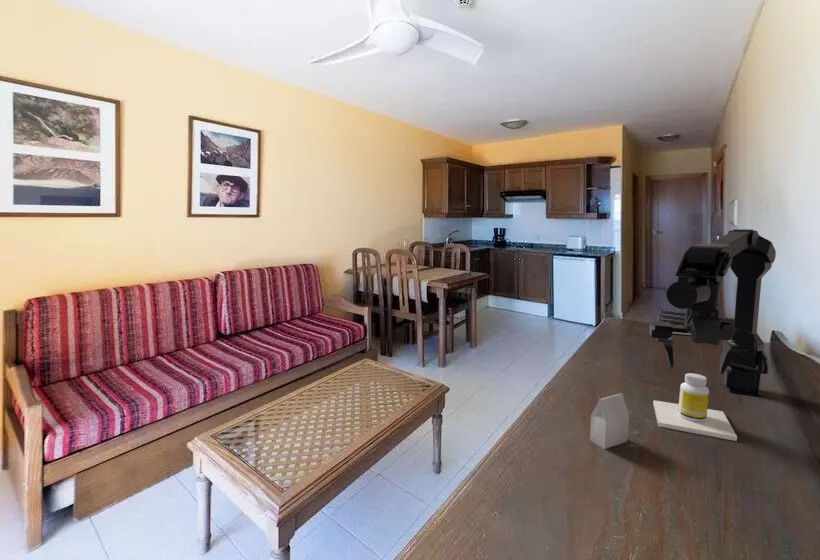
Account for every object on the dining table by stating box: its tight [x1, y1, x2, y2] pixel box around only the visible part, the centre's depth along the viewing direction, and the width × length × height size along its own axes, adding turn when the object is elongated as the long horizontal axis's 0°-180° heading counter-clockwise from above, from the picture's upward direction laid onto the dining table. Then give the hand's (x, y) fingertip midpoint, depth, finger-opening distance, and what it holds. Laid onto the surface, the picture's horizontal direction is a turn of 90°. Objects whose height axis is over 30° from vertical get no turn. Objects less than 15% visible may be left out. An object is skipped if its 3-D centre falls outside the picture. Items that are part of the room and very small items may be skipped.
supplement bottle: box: [678, 372, 710, 422], centre depth 90 cm, size 5×5×10 cm
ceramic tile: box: [652, 400, 738, 442], centre depth 90 cm, size 14×12×1 cm
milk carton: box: [589, 392, 630, 450], centre depth 83 cm, size 4×7×10 cm, turn 114°
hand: (695, 370), depth 89 cm, fingers open, 9 cm apart
